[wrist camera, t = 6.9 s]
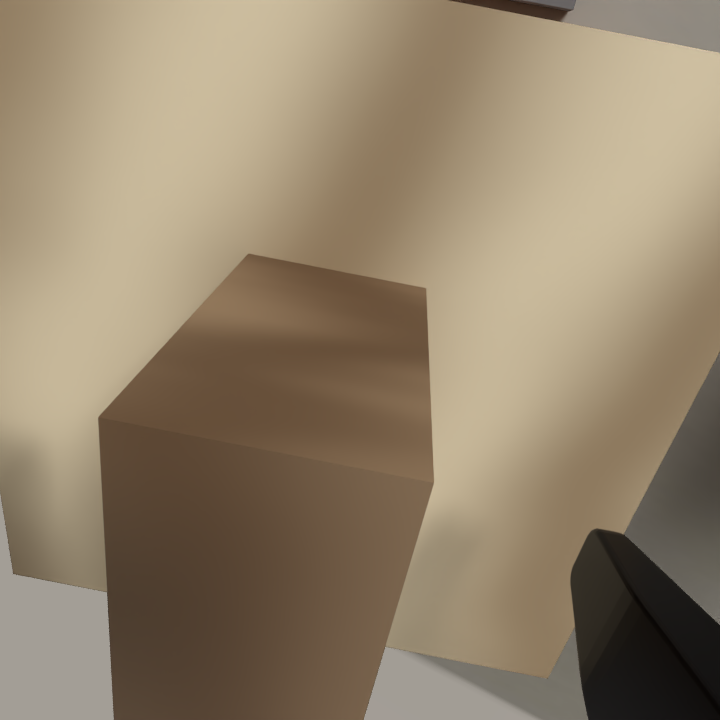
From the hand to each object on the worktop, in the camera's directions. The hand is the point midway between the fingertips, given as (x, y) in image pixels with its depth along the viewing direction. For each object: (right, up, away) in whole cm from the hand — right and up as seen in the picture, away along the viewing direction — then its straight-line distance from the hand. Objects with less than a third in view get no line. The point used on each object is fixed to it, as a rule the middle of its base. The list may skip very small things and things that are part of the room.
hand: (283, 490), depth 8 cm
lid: (0, +2, +3) cm, 4 cm away
